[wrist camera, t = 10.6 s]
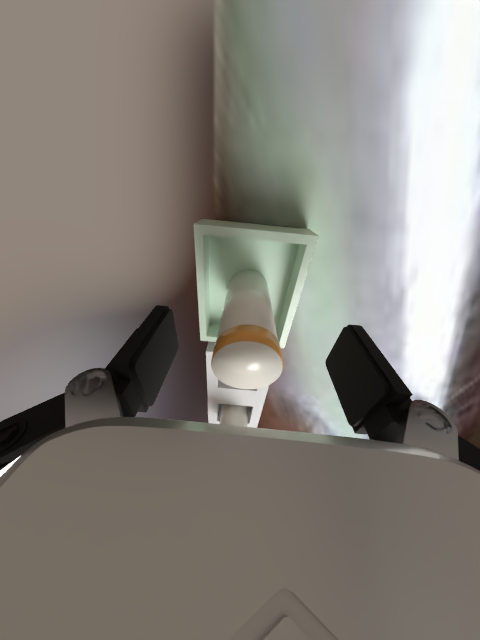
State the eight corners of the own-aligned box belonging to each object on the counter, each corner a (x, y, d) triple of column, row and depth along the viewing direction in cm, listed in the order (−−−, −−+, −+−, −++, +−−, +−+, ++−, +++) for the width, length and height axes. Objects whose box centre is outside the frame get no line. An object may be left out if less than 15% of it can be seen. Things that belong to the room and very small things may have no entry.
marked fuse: (228, 266, 16) (209, 338, 8) (271, 271, 16) (291, 345, 8) (226, 304, 18) (211, 387, 11) (264, 307, 18) (275, 392, 11)
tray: (201, 218, 14) (193, 223, 12) (308, 228, 14) (318, 236, 12) (205, 324, 20) (200, 340, 18) (280, 331, 20) (284, 348, 18)
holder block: (211, 331, 21) (205, 351, 18) (273, 337, 21) (276, 357, 18) (212, 404, 29) (208, 424, 27) (256, 408, 29) (256, 428, 27)
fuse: (223, 385, 26) (213, 461, 19) (249, 387, 26) (249, 464, 19) (222, 399, 28) (213, 473, 21) (246, 401, 28) (245, 476, 21)
